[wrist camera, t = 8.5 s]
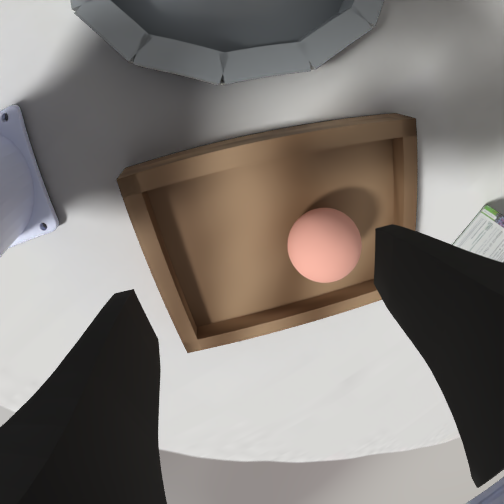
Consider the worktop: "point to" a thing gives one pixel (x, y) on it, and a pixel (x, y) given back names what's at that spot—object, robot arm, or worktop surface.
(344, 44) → the bowl
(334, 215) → the ball
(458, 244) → the syrup box
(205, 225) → the tray
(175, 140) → the worktop surface
